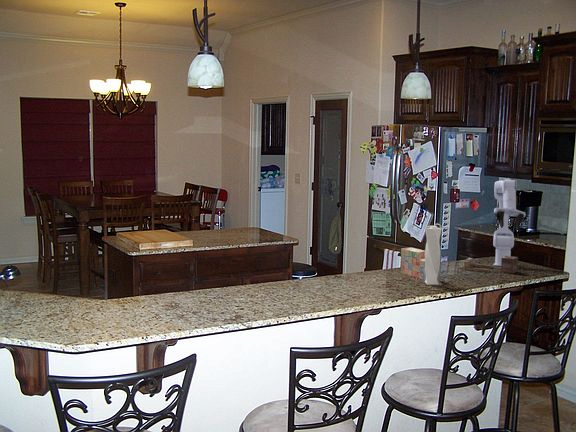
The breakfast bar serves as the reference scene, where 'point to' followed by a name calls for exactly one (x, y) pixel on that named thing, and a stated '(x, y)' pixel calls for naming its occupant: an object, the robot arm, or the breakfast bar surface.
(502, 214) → the robot arm
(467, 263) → the cradle
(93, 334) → the breakfast bar surface
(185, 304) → the breakfast bar surface
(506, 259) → the box
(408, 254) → the stack of blocks
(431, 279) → the skyscraper
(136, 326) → the breakfast bar surface
